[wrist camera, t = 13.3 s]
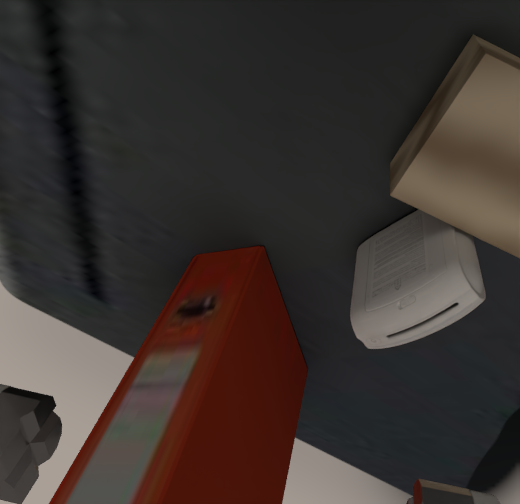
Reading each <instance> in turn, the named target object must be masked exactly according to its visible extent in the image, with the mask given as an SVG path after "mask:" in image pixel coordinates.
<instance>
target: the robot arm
mask: <svg viewBox="0 0 520 504" xmlns="http://www.w3.org/2000/svg"><path fill="white" fill-rule="evenodd" d="M55 407H56V404H55V401H54V398H53V396H49V395H44V394H40V393H36V392H31V391H27V390H22V389H18V388H14V387H11V386H7V385H2V384H0V500H4V501H8V502H13V503H17V504H22V502H23V501H24V499H25V497H26V496H27V494H28V493H29V491H30V490H31V488H32V486H33V485H34V483H35V482H36V480H37V479H38V477H39V471H38V466H39V465H40V464H42V463H44V462H45V461H47V460H48V459H50V457H51V456H52V454H53V453H54V451H55V449H56V448H57V446H58V443H59V440H60V437H61V434H62V423H61V420H60V417H58V415H56V413H54V412H53V410H54V408H55ZM407 504H500V502H499V501H498V499H497V498H496V497H495V496H494V495H490V494H485V493H481V492H476V491H472V490H468V489H465V488H460V487H455V486H451V485H446V484H441V483H436V482H431V481H426V480H422V479H418V480H416V482H415V484H414V487H413V497H412V498H409V499H408V501H407Z"/></svg>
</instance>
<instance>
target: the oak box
mask: <svg viewBox="0 0 520 504" xmlns="http://www.w3.org/2000/svg"><path fill="white" fill-rule="evenodd" d="M390 196H392V197H394V198H397V199H399V200H401V201H403V202H405V203H407V204H409V205H411V206H413V207H415V208H417V209H419V210H421V211H423V212H425V213H428V214H430V215H432V216H434V217H436V218H438V219H440V220H442V221H444V222H446V223H448V224H450V225H452V226H454V227H456V228H458V229H461V230H463V231H465V232H467V233H469V234H471V235H473V236H475V237H477V238H479V239H481V240H483V241H485V242H487V243H489V244H492V245H494V246H496V247H498V248H500V249H502V250H504V251H506V252H508V253H510V254H512V255H514V256H516V257H518V258H520V58H519V57H517V56H515V55H513V54H511V53H509V52H507V51H505V50H503V49H501V48H499V47H497V46H495V45H493V44H491V43H489V42H487V41H485V40H483V39H481V38H479V37H477V36H475V35H472V37H471V38H470V40H469V41H468V43H467V45H466V46H465V48H464V49H463V51H462V52H461V54H460V55H459V57H458V59H457V60H456V62H455V63H454V65H453V66H452V68H451V69H450V71H449V73H448V74H447V76H446V77H445V79H444V80H443V82H442V83H441V85H440V87H439V88H438V90H437V91H436V93H435V94H434V96H433V97H432V99H431V101H430V102H429V104H428V105H427V107H426V108H425V110H424V111H423V113H422V115H421V116H420V118H419V119H418V121H417V122H416V124H415V126H414V127H413V129H412V130H411V132H410V133H409V135H408V136H407V138H406V140H405V141H404V143H403V144H402V146H401V147H400V149H399V150H398V152H397V154H396V155H395V157H394V158H393V160H392V161H391V163H390Z"/></svg>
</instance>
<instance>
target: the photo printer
mask: <svg viewBox="0 0 520 504" xmlns="http://www.w3.org/2000/svg"><path fill="white" fill-rule="evenodd" d="M485 297H486V295H485V289H484V285H483V280H482V276H481V271H480V267H479V262H478V258H477V253H476V249H475V245H474V240H473V236H472V235H471V234H469V233H467V232H465V231H463V230H461V229H458V228H456V227H454V226H452V225H450V224H448V223H446V222H444V221H442V220H440V219H438V218H436V217H434V216H432V215H430V214H428V213H425V212H423V211H421V210H419V209H418V210H417V211H415V212H413V213H412V214H410V215H408V216H406V217H404V218H403V219H401V220H399V221H397V222H396V223H394V224H392V225H391V226H389V227H387V228H385V229H384V230H382V231H380V232H378V233H377V234H375V235H374V236H372V237H371V238H369V239H368V240H366V241H365V242H364V243H362V244H361V245H360V246H359V247H358V250H357V257H356V266H355V276H354V284H353V292H352V301H351V309H350V318H351V324H352V327H353V330H354V332H355V334H356V337H357V338H358V339H359V340H361V341H362V342H363V343H364V344H365V346H366V347H367V348H369V349H380V348H388V347H393V346H398V345H401V344H405V343H408V342H411V341H414V340H417V339H420V338H422V337H425V336H427V335H429V334H432V333H434V332H436V331H438V330H440V329H442V328H444V327H446V326H448V325H450V324H452V323H454V322H455V321H457V320H459V319H460V318H462V317H464V316H465V315H466V314H468V313H470V312H471V311H472V310H474V309H475V308H476V307H477V306H478V305H480V304H481V303H482V302H483V301H484V300H485Z"/></svg>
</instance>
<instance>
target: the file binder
mask: <svg viewBox="0 0 520 504" xmlns="http://www.w3.org/2000/svg"><path fill="white" fill-rule="evenodd" d="M307 372H308V369H307V366H306V363H305V360H304V358H303V355H302V352H301V349H300V346H299V344H298V341H297V338H296V335H295V332H294V330H293V327H292V324H291V321H290V318H289V316H288V313H287V310H286V307H285V304H284V302H283V299H282V296H281V293H280V290H279V288H278V285H277V282H276V279H275V276H274V273H273V271H272V268H271V265H270V262H269V259H268V257H267V254H266V251H265V248H264V246H262V247H260V246H254V247H247V248H240V249H233V250H226V251H219V252H213V253H206V254H199V255H196V256H195V257H193V259H192V261H191V262H190V264H189V266H188V267H187V269H186V271H185V273H184V274H183V276H182V278H181V279H180V281H179V283H178V284H177V286H176V288H175V290H174V291H173V293H172V295H171V296H170V298H169V300H168V302H167V303H166V305H165V307H164V308H163V310H162V312H161V313H160V315H159V317H158V319H157V320H156V322H155V324H154V325H153V327H152V329H151V331H150V332H149V334H148V336H147V337H146V339H145V341H144V342H143V344H142V346H141V348H140V349H139V351H138V353H137V354H136V356H135V358H134V360H133V361H132V363H131V365H130V366H129V368H128V370H127V371H126V373H125V375H124V377H123V378H122V380H121V382H120V383H119V385H118V387H117V389H116V390H115V392H114V394H113V395H112V397H111V399H110V400H109V402H108V404H107V406H106V407H105V409H104V411H103V412H102V414H101V416H100V418H99V419H98V421H97V423H96V424H95V426H94V428H93V429H92V431H91V433H90V435H89V436H88V438H87V440H86V441H85V443H84V445H83V447H82V448H81V450H80V452H79V453H78V455H77V457H76V459H75V460H74V462H73V464H72V465H71V467H70V469H69V471H68V472H67V474H66V476H65V477H64V479H63V481H62V482H61V484H60V486H59V488H58V489H57V491H56V493H55V494H54V496H53V498H52V499H51V501H50V503H49V504H282V500H283V495H284V490H285V485H286V479H287V475H288V470H289V465H290V459H291V454H292V449H293V444H294V439H295V434H296V429H297V423H298V418H299V413H300V408H301V403H302V398H303V393H304V387H305V382H306V377H307Z"/></svg>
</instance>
